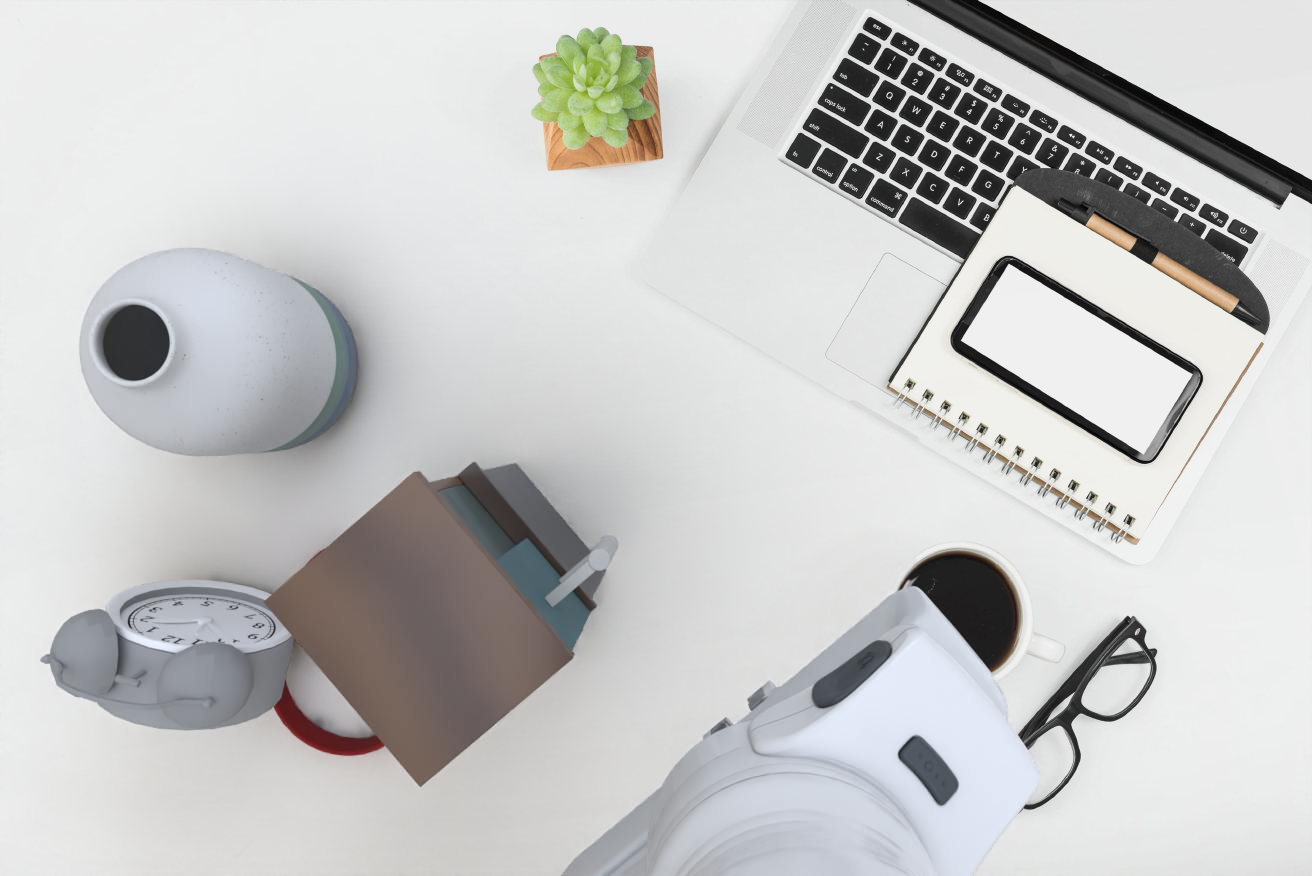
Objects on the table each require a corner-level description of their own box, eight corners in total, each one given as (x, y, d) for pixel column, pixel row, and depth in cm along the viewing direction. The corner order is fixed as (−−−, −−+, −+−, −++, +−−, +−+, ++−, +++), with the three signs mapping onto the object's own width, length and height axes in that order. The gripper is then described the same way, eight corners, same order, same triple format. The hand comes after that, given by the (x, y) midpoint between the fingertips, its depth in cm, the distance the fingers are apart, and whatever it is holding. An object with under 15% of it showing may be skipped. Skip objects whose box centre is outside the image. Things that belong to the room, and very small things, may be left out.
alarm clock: (338, 605, 83) (214, 670, 61) (317, 688, 83) (186, 783, 61) (182, 563, 83) (4, 612, 61) (162, 645, 84) (-24, 724, 62)
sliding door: (583, 619, 60) (559, 666, 48) (519, 544, 60) (479, 572, 48) (643, 568, 60) (634, 603, 48) (579, 492, 60) (554, 509, 48)
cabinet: (530, 634, 82) (420, 788, 47) (440, 527, 83) (262, 602, 48) (619, 559, 82) (573, 658, 47) (527, 452, 82) (414, 471, 47)
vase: (375, 283, 82) (249, 224, 58) (372, 452, 83) (246, 463, 59) (208, 280, 83) (15, 221, 59) (206, 449, 83) (13, 458, 59)
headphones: (302, 533, 82) (285, 718, 86) (265, 554, 75) (248, 754, 79) (447, 558, 82) (424, 743, 85) (424, 582, 75) (399, 782, 78)
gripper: (600, 1142, 27) (628, 901, 41) (1084, 746, 27) (946, 637, 40) (477, 994, 27) (546, 803, 41) (956, 596, 27) (862, 538, 40)
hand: (747, 719), depth 41 cm, fingers closed
